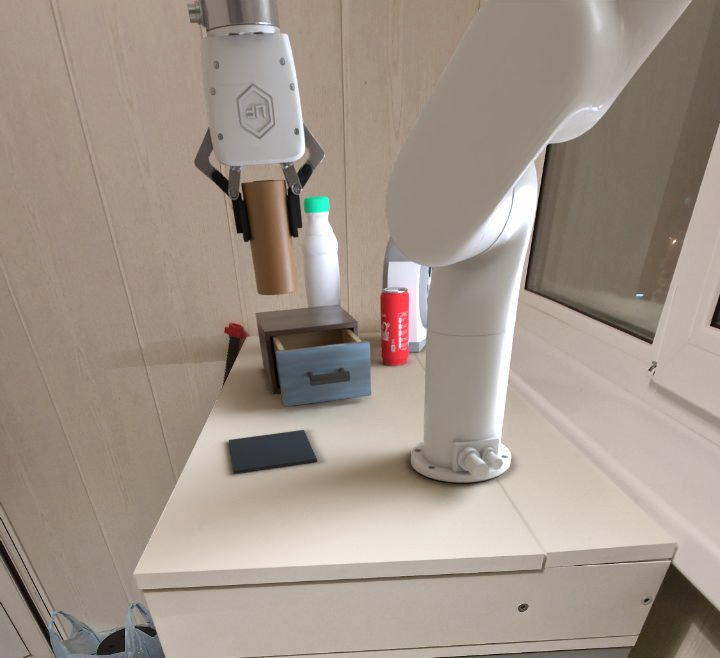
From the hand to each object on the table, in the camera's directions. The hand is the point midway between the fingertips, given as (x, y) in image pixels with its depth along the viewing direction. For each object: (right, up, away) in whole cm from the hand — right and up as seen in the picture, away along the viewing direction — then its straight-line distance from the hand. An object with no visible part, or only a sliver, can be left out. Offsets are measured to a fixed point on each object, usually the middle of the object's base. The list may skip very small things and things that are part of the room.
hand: (270, 236), depth 68 cm
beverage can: (+18, +4, +39) cm, 43 cm away
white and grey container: (+22, +12, +48) cm, 54 cm away
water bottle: (+4, +13, +50) cm, 52 cm away
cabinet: (+2, 0, +35) cm, 35 cm away
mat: (-1, -23, +9) cm, 25 cm away
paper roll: (0, -4, +4) cm, 6 cm away
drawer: (+5, -8, +25) cm, 26 cm away
